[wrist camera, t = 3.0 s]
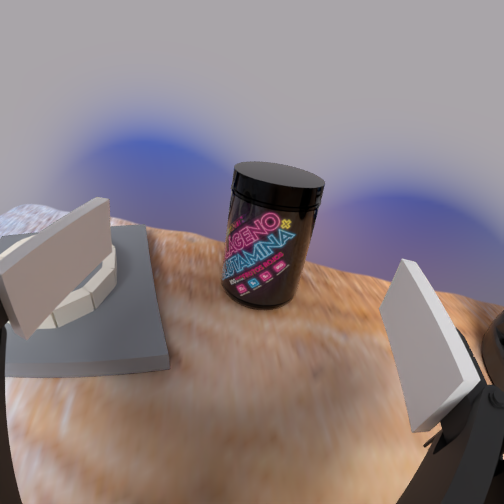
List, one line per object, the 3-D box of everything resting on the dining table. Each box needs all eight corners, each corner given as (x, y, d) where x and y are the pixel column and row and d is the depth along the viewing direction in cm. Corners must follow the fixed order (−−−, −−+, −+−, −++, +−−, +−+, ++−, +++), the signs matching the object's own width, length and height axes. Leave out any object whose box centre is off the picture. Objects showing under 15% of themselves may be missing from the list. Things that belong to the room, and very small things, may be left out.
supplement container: (212, 269, 27) (224, 159, 22) (278, 265, 29) (299, 165, 24) (231, 318, 22) (250, 184, 17) (308, 308, 24) (343, 191, 19)
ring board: (145, 236, 31) (145, 211, 29) (170, 369, 16) (167, 337, 15) (4, 247, 24) (-1, 224, 22) (-51, 371, 9) (-70, 342, 8)
